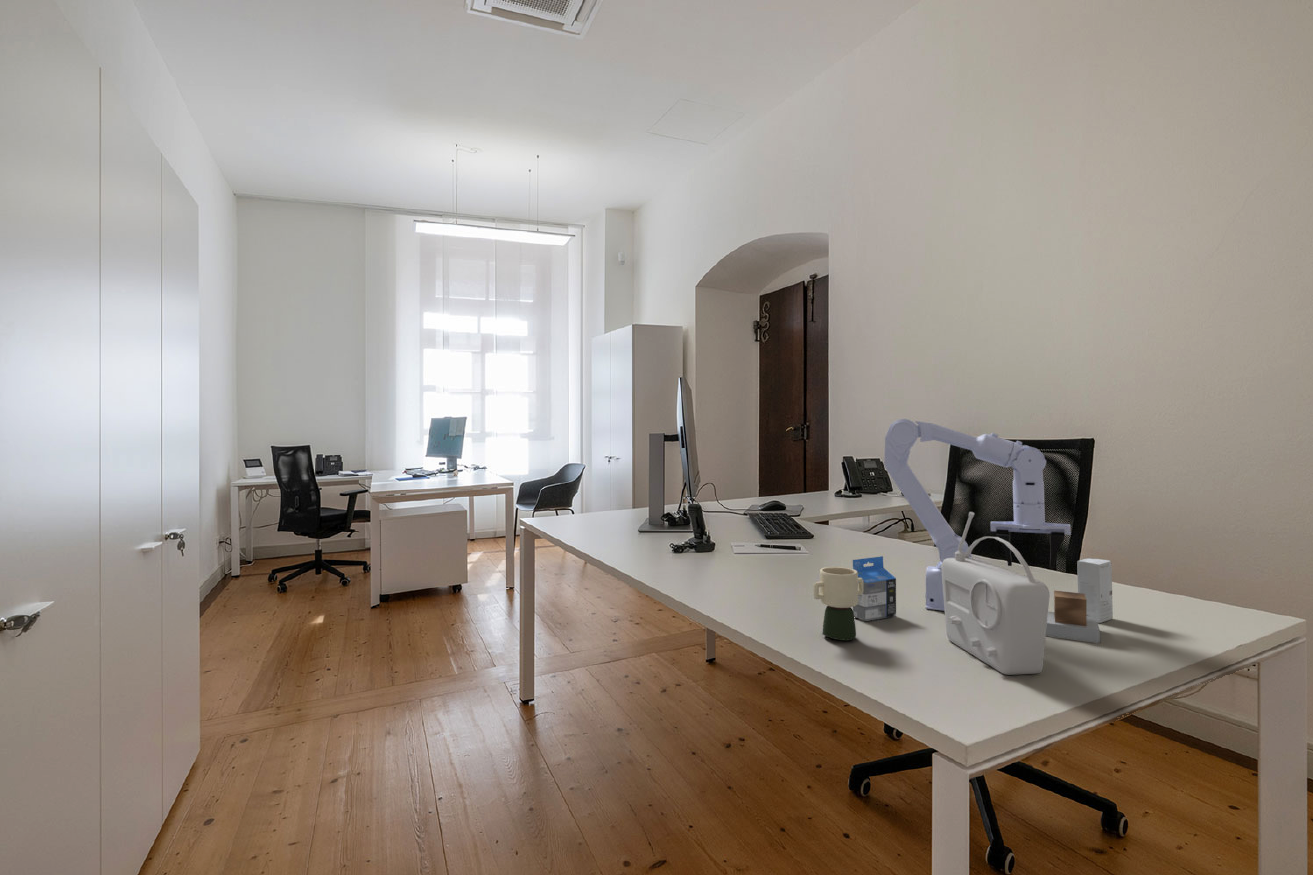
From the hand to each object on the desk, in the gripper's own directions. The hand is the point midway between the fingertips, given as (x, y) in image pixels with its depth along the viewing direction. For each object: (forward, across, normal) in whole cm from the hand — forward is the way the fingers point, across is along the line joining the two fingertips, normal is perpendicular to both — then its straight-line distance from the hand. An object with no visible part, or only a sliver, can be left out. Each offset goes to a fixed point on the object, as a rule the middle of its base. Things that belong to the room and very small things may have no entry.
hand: (1030, 566), depth 132 cm
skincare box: (+11, +11, +4) cm, 16 cm away
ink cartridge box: (+10, -29, -17) cm, 35 cm away
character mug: (+10, -32, -34) cm, 48 cm away
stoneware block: (+11, +6, -9) cm, 16 cm away
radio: (+10, -7, -31) cm, 33 cm away
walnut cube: (+8, +6, -10) cm, 14 cm away
